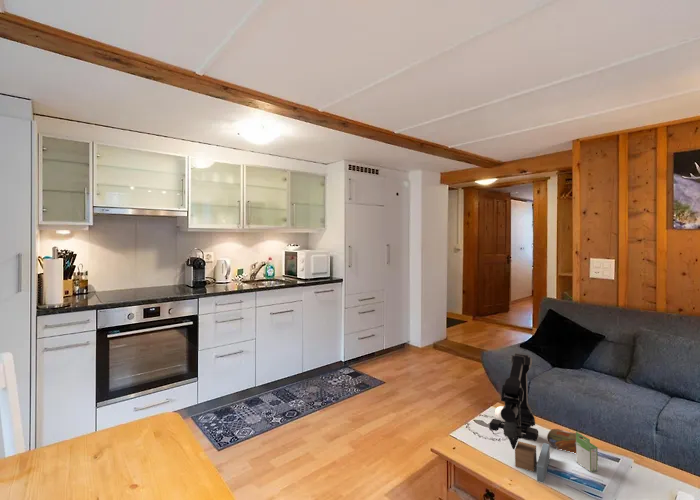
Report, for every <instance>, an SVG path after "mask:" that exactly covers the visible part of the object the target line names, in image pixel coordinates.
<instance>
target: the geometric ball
mask: <svg viewBox="0 0 700 500" xmlns="http://www.w3.org/2000/svg"><path fill="white" fill-rule="evenodd" d="M503 407H504V405H499V406H497V407H496V408H495V411H494V416H495V417H496V418H495V419H498V420H501V421H502V423H505V420H503V418H502V417H501V410H502V409H503Z"/></svg>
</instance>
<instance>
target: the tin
mask: <svg viewBox="0 0 700 500" xmlns="http://www.w3.org/2000/svg"><path fill="white" fill-rule="evenodd" d="M579 438H580V439H584V438H583V437H579ZM546 439H547V442H548V444H549V446H551V447H552V448H554V449H556V448H557V450H559V449H562V450H561V451H563V450H566V451H565V452H567V451H570V452H574V453H576V432H572V431H568V430H563V429H560V428H553V429H551V430H549V431H548V433H547V436H546ZM570 452H569V453H570ZM574 453H573V454H574Z"/></svg>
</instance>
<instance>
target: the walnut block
mask: <svg viewBox="0 0 700 500" xmlns="http://www.w3.org/2000/svg"><path fill="white" fill-rule="evenodd" d="M537 456H538V455H537V445H536V444H531V443H527V442H523V441H519V440H518V441H517V444H516V447H515V449H514V466H515V467H516V468H520V469H523V470H527V471H531V472H535V469H536V467H537V463H538V460H537V459H538V458H537Z"/></svg>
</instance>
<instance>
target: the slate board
mask: <svg viewBox="0 0 700 500" xmlns="http://www.w3.org/2000/svg"><path fill="white" fill-rule="evenodd" d="M550 453H551V451H550V443H546V442H543V443H542V445H541V449H540V453H539V457H538V458H537V459H538V460H537V463H536V481H537V482H539V483H542V484H545V481H546V476H547V472H548V468H549V467H548V466H549V464H548V463H550V459H549V458H551V457H550ZM547 467H548V468H547Z"/></svg>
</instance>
